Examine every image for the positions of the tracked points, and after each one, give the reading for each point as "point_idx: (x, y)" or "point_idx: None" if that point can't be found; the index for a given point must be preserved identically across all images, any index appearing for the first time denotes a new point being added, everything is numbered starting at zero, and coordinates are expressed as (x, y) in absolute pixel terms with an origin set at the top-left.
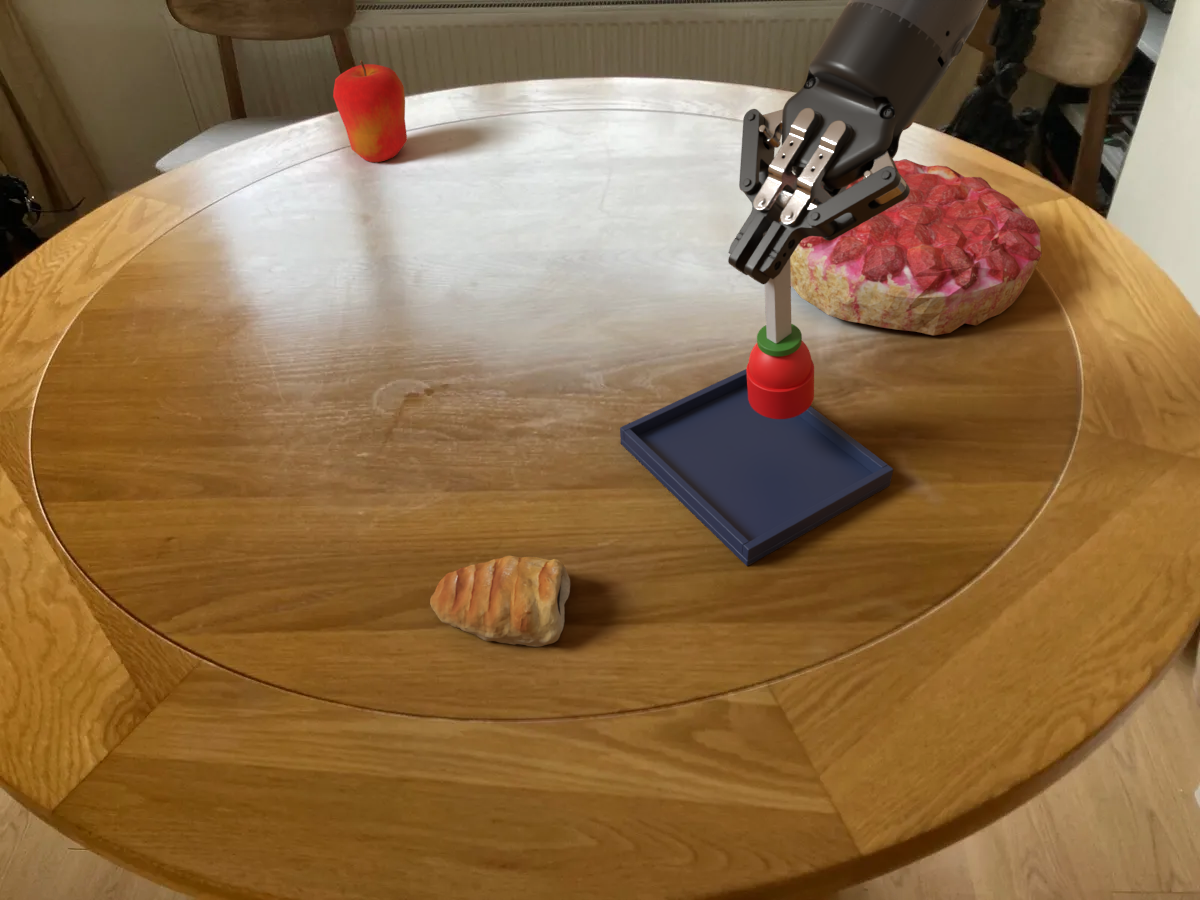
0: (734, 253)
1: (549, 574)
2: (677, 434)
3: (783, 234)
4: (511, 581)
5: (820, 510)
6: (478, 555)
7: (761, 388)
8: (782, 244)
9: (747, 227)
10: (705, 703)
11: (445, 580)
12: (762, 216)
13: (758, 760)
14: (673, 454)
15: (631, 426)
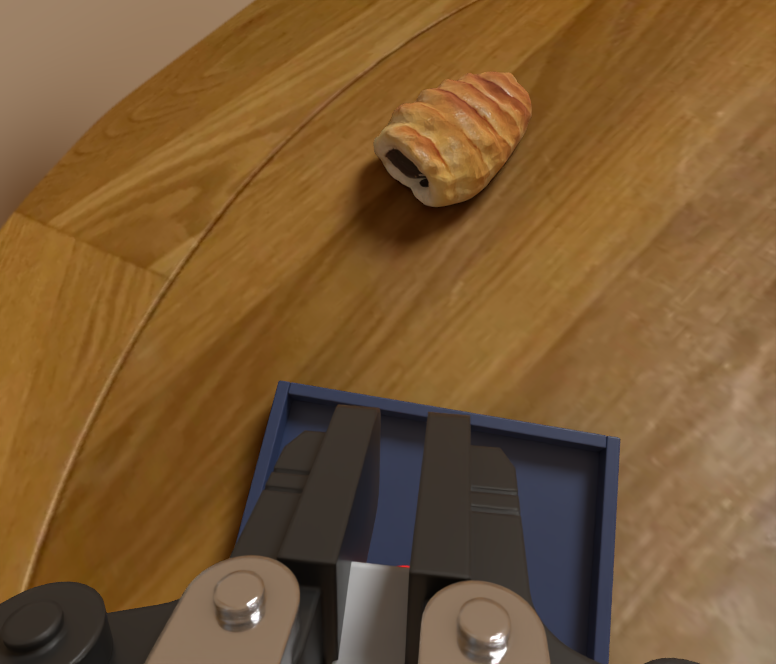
0: (455, 426)
1: (419, 145)
2: (554, 522)
3: (271, 555)
4: (445, 112)
5: (241, 523)
6: (553, 172)
7: (398, 566)
8: (254, 514)
9: (470, 506)
10: (209, 219)
11: (519, 89)
12: (421, 566)
13: (131, 212)
14: (518, 476)
15: (608, 453)
